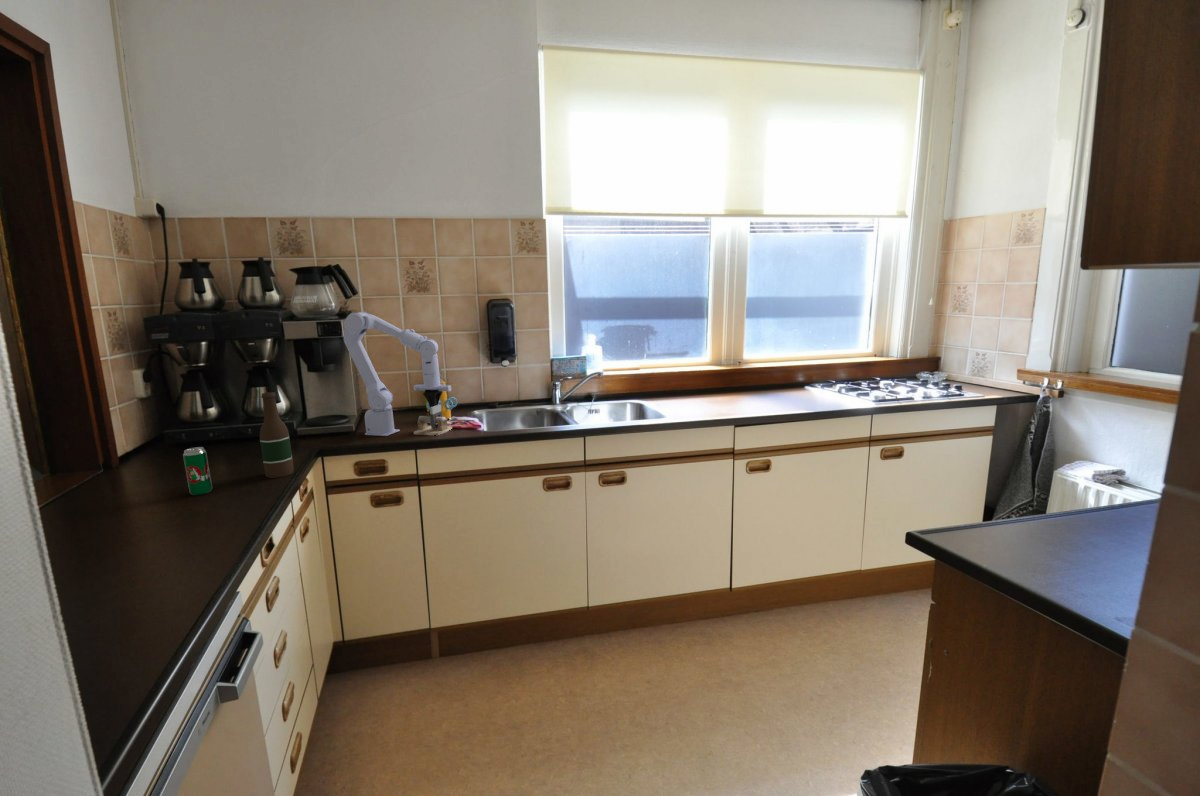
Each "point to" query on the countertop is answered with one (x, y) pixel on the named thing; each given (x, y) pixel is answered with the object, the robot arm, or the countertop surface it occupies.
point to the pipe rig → (427, 430)
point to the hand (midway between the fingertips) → (434, 410)
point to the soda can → (197, 471)
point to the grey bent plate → (435, 412)
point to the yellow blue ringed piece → (445, 403)
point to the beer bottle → (274, 441)
